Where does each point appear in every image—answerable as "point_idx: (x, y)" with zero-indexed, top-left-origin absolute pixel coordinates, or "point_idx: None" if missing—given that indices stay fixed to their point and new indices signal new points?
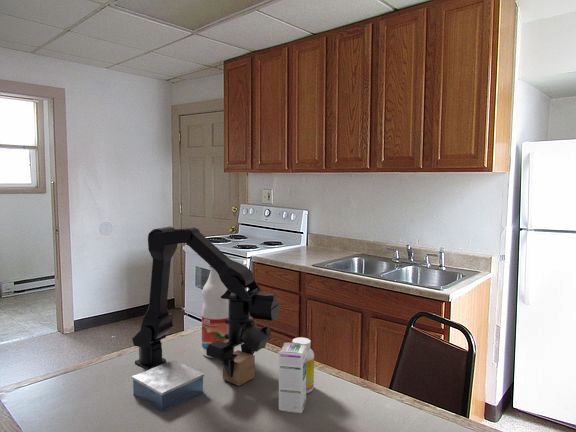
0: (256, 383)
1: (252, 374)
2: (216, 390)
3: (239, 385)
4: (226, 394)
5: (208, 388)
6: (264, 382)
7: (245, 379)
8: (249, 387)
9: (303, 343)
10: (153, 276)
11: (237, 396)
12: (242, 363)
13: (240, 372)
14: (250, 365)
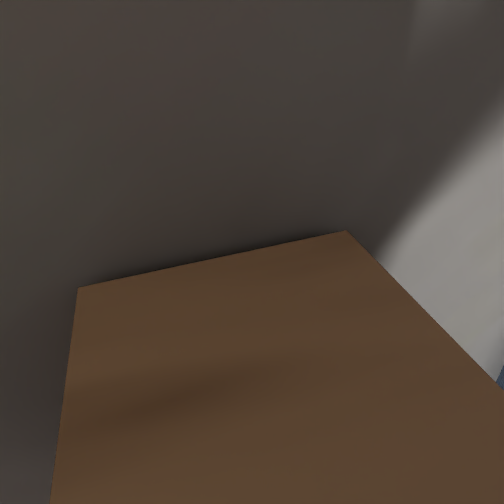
0: (139, 167)
1: (118, 312)
2: (474, 292)
3: (347, 233)
4: (500, 193)
5: (471, 341)
6: (16, 108)
7: (260, 271)
8: (275, 147)
9: None
10: None
11: (498, 84)
12: (488, 479)
13: (428, 335)
14: (187, 430)
